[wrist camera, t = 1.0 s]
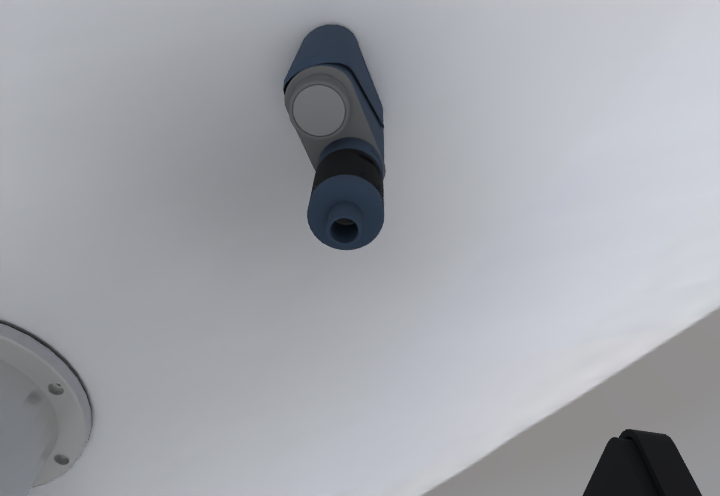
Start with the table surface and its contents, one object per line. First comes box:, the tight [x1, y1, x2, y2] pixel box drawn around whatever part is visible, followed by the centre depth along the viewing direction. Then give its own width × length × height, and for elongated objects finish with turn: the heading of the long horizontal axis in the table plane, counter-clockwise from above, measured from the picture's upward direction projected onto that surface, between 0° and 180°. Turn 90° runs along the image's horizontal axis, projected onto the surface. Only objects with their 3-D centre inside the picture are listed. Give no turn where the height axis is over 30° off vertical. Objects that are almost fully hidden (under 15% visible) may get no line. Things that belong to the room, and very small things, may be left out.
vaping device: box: [283, 25, 385, 250], centre depth 24 cm, size 3×5×12 cm, turn 22°
